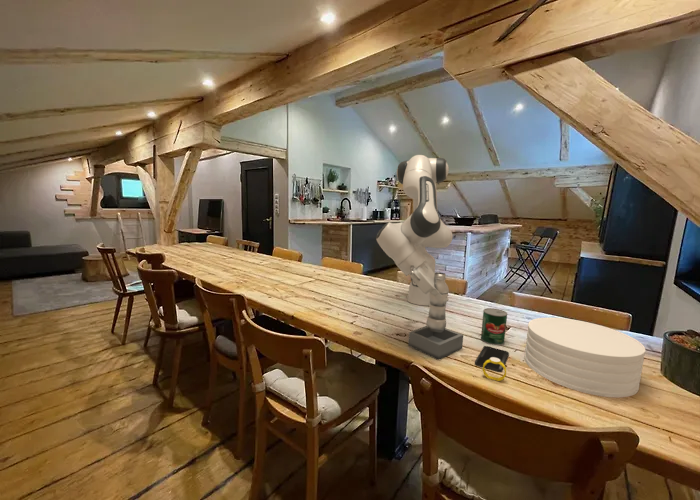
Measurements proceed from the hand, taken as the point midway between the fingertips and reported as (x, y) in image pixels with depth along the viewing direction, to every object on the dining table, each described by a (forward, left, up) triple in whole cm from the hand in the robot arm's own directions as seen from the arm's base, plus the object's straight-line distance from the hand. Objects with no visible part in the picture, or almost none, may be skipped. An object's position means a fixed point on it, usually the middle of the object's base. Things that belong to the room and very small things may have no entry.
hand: (440, 294), depth 105 cm
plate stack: (-23, +34, -19) cm, 45 cm away
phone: (-8, +16, -19) cm, 26 cm away
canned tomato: (-22, +9, -19) cm, 30 cm away
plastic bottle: (0, -1, -13) cm, 13 cm away
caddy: (0, 0, -19) cm, 19 cm away
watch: (+3, +22, -19) cm, 29 cm away
